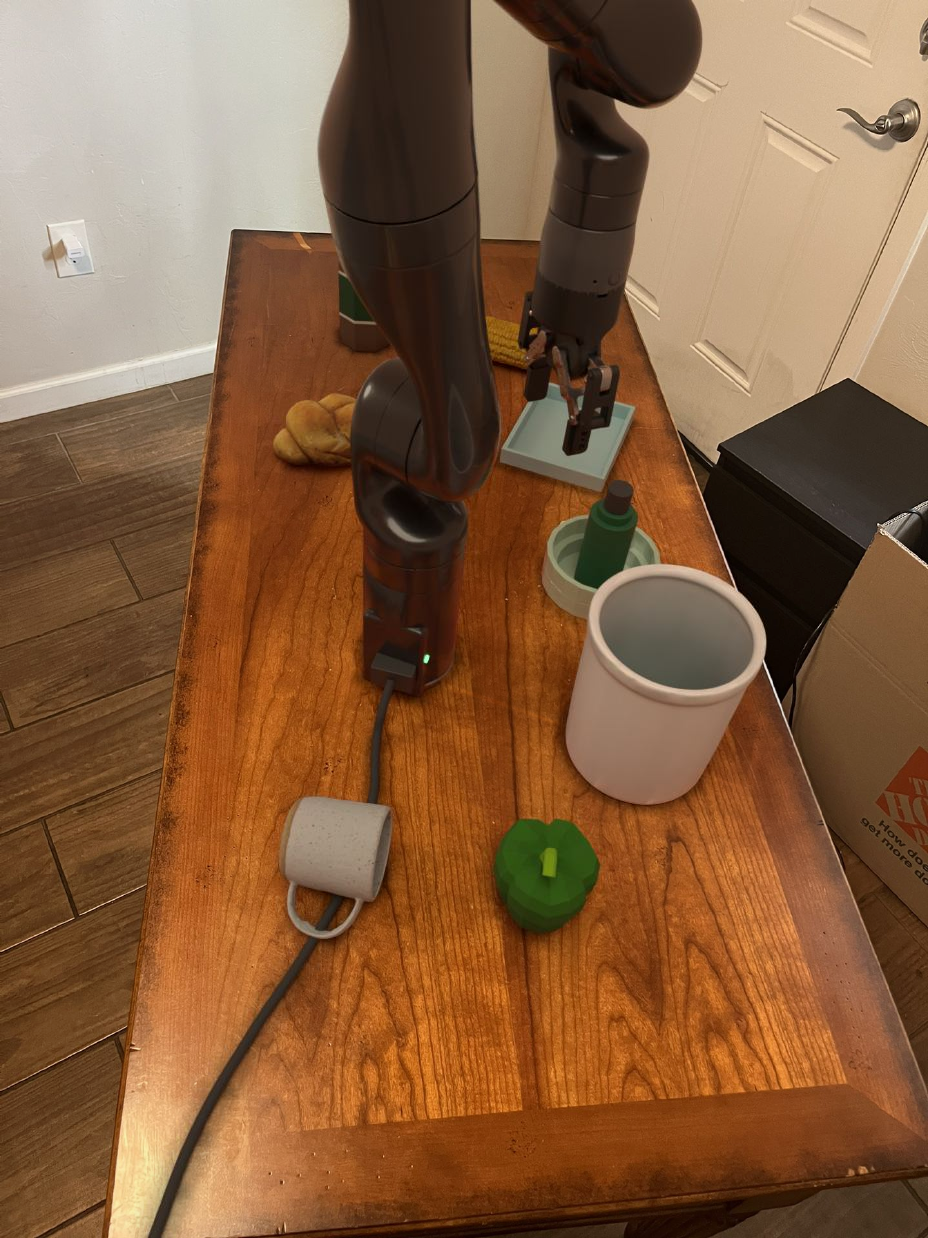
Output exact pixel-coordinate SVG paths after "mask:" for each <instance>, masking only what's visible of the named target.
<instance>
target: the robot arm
mask: <svg viewBox="0 0 928 1238" xmlns="http://www.w3.org/2000/svg"><path fill="white" fill-rule="evenodd" d="M347 2H348V27H347V28H348V29H347V39H346V44H345V48H344V51H343V54H342V57H341V61H340V63H339V65H338V68H337V70H336V73H335V76H334V79H333V82H332V84H331V87H330V90H329V93H328V95H327V98H326V102H325V105H324V108H323V111H322V115H321V118H320V123H319V129H318V134H317V144H316V151H317V153H316V155H317V166H318V175H319V180H320V187H321V190H322V193H323V199H324V204H325V209H326V215H327V218H328V224H329V227H330V233H331V234H330V235H331V238H332V241H333V244H334V249H335V252H336V256H337V258H338V262H339V261H340V264H341V266H342V268H343V270H344V272H345V274H346V276H347V278H348V280H349V281H350V283H351V285H352V287H353V289H354V290H355V292H356V294H357V295H358V297H359V299H360V300H361V302H362V303H363V305H364V307H365V308H366V310H367V311H368V313H369V314H370V316H371V317H372V319H373V320H374V322H375V323H376V324H377V326H378V327H379V329H380V330H381V332H382V333H383V334H384V336H385V337H386V339H387V340H388V341H389V343H390V346H391V347H392V349H393V350H394V352H395V353H396V355H397V356H394V357H391V358H388V359H386V360H384V361H382V362H381V363H380V364H378V365H377V366H376V367H375V368H374V369H373V370H372V371H371V372H370V373H369V375H367V377H366V379H365V380H364V382H363V383H362V385H361V388H360V390H359V392H358V395H357V397H356V398H355V399H356V402H355V405H354V409H353V414H352V420H351V428H350V454H351V464H350V465H351V466H350V467H351V477H352V479H351V480H352V489H353V490H352V491H353V504H354V510H355V514H356V516H357V519H358V521H359V523H360V525H361V526H362V646H361V647H362V648H361V657H362V679H364V680H366V681H369V682H370V684H371V685H375V686H378V687H383V691H382V694H381V698H380V700H379V705H378V708H377V711H376V716H375V718H374V719H375V720H374V724H373V729H372V736H371V745H370V765H369V766H370V767H369V769H370V770H369V790H368V796H367V802H366V803H370V804H378V797H379V789H380V762H381V761H380V759H381V758H380V757H381V753H380V752H381V743H382V735H383V728H384V724H385V721H386V715H387V712H388V708H389V704H390V701H391V699H392V695H393V692H394V691H397V692H401V693H404V694H407V695H409V696H412V697H415V698H420V697H422V694H423V693H424V691H425V690H428V689H431V688H433V687H435V686H437V685H439V684H440V683H442V681H443V679H444V678H445V677H446V676H447V675H448V674H449V673H450V671H451V670H452V668H453V665H454V663H455V657H456V639H457V630H458V621H459V612H460V603H461V594H462V587H463V586H462V585H463V578H464V577H463V576H464V569H465V568H464V567H465V561H466V560H465V559H466V551H467V550H466V549H467V542H468V535H469V525H470V523H469V522H470V519H469V512H468V511H469V510H468V508H467V505H466V503H465V501H466V500H468V499H470V498H471V497H473V496H474V495H475V494H477V493H478V492H479V491H480V490H481V489H482V487H483V486H484V485H485V483H486V482H487V480H488V479H489V477H490V475H491V474H492V471H493V468H494V466H495V464H496V460H497V457H498V452H499V448H500V443H501V442H500V441H501V433H502V414H501V405H500V398H499V393H498V391H499V390H498V387H497V386H498V385H497V379H496V374H495V370H494V364H493V360H492V358H491V352H490V346H489V340H488V333H487V325H486V316H487V315H486V306H485V296H484V295H485V293H484V280H483V267H482V266H483V264H482V222H481V220H482V213H481V195H480V194H481V193H480V174H479V159H478V157H479V156H478V148H477V137H476V126H475V125H476V124H475V107H474V106H475V105H474V76H473V75H474V72H473V70H474V69H473V32H472V31H473V29H472V28H473V27H472V0H347ZM492 2H494V3H495V4H496V5H497V6H498V7H499V8H500V9H501V10H502V11H504V12H505V14H507V15H508V16H509V17H510V18H511V19H512V20H514V21H515V22H516V23H517V24H519V25H520V26H521V27H522V28H523V29H524V30H525V31H527V32H528V33H529V34H530V35H531V36H532V37H534V38H535V39H536V40H538V41H539V42H541V43H542V44H544V45H546V46H547V47H546V48H547V49H546V55H547V58H546V59H547V73H548V83H549V92H550V103H551V111H552V113H551V114H552V125H553V134H554V140H555V161H554V167H553V174H552V179H551V187H550V194H549V200H548V205H547V206H548V207H547V211H546V215H545V218H544V222H543V226H542V229H541V233H540V242H539V248H538V254H537V261H536V268H535V275H534V282H533V289H532V290H529V291H526V292H525V295H524V301H523V307H522V313H521V319H520V329H519V335H518V346H519V348H520V349H525V351H526V353H525V362H526V365H527V366H528V369H527V370H526V376H525V384H524V389H523V398H524V399H525V400H526V401H527V403H528V402H532V401H538V400H543V399H544V398H546V396H547V392H548V386H549V383H550V381H551V379H550V378H551V375H552V374H551V373H552V370H554V372H555V374H556V376H557V378H558V379H557V380H558V385H559V387H560V394H561V397H562V398H564V399H566V401H567V407H568V414H569V420H568V421H567V426H566V431H565V436H564V441H563V446H562V450H563V452H564V453H565V455H566V456H572V455H577V454H581V453H584V452H586V450H587V448H588V443H589V439H590V435H591V430H594V429H599V428H606V427H609V426H610V423H611V418H612V413H613V407H614V402H615V401H616V397H617V392H618V386H619V382H620V376H621V371H620V367H619V365H618V364H611V365H608V364H606V363H605V362H604V361H603V359H602V341H603V339H604V337H605V336H606V335H607V334H608V333H609V332H610V331H611V330H612V329H613V328H614V327H615V326H616V325H617V322H618V319H619V316H620V312H621V309H622V308H621V307H622V303H623V298H624V294H625V289H626V286H627V281H628V277H629V276H628V275H629V272H630V266H631V262H632V259H633V253H634V248H635V244H636V243H635V242H636V232H637V231H636V230H637V221H638V217H639V216H638V215H639V211H640V207H641V202H642V197H643V194H644V189H645V184H646V181H647V175H648V171H649V165H650V156H651V155H650V153H651V152H650V148H649V145H648V143H647V141H646V139H645V138H644V137H643V136H642V135H641V134H640V133H639V132H638V131H637V130H636V129H635V128H633V126H631V124H629V123H628V122H627V121H626V120H625V119H624V118H623V117H622V115H621V114H620V113H619V111H618V110H617V106H616V101H618V102H620V103H622V104H625V105H628V106H631V107H633V108H636V109H642V110H652V109H658V108H661V107H663V106H666V105H668V104H670V103H671V102H673V101H674V100H675V99H677V98H678V97H679V96H681V95H682V94H683V92H684V91H685V90H686V89H687V87H688V86H689V84H690V83H691V81H692V80H693V78H694V76H695V74H696V72H697V70H698V67H699V64H700V61H701V57H702V51H703V39H704V38H703V27H702V22H701V18H700V15H699V11H698V9H697V7H696V4H695V3H694V1H693V0H492ZM615 100H616V101H615ZM532 328H536V329H538V330H537V334H531V335H529V334H530V330H531V329H532ZM580 380H583V384H584V386H579V387H573V386H572V384H571V382H575V381H580ZM579 396H584V397H583V403H582V409H581V410H579V407H578V397H579ZM599 408H601V410H600V413H599ZM344 897H345V896H340V895H337V894H334V893H333V896H332V897H331V899H330V901H329V903H328V905H327V907H326V908H325V910H324V912H323V913H322V915H321V917H320V919H319V921H317V924H316V925H315V926H314V927H315V930H318V931H324V930H327V928H328V926H329V925H330V923H331V921H332V919H333V917H334V916H335V914H336V913H337V910H338V908H339V907H340V905H341V903H342V901H343V900H344ZM319 941H320V939H319V938H314V937H311V936H309V937H308V938H307V940H306V941H305V943H304V945H303V946H302V948H301V949H300V951H299V953H298V954H297V956H296V958H295V959H294V960H293V962H292V964H291V966H290V967H289V968H288V970H287V971H286V973H284V976H283V977H282V978H281V980H280V981H279V983H278V984H277V985H276V986H275V989H274V990H273V992H272V993H271V995H269V997H268V999H267V1000H266V1002H265V1003H264V1004H263V1006H262V1007H261V1009H260V1010H259V1012H258V1014H257V1015H256V1017H255V1018H254V1019H253V1021H252V1023H251V1025H250V1026H249V1028H248V1029H247V1031H246V1033H245V1034H244V1036H243V1037H242V1038H241V1041H240V1042H239V1043H238V1045H237V1047H236V1048H235V1050H234V1052H233V1053H232V1055H231V1056H230V1058H229V1059H228V1061H227V1062H226V1064H225V1066H224V1068H223V1069H222V1071H221V1072H220V1074H219V1076H218V1077H217V1079H216V1081H215V1082H214V1084H213V1086H212V1087H211V1089H210V1091H209V1093H208V1094H207V1097H206V1098H205V1100H204V1101H203V1104H202V1105H201V1107H200V1109H199V1111H198V1113H197V1115H196V1116H195V1119H194V1121H193V1123H192V1125H191V1127H190V1129H189V1131H188V1133H187V1135H186V1138H185V1140H184V1142H183V1144H182V1146H181V1149H180V1151H179V1153H178V1156H177V1157H176V1161H175V1163H174V1166H173V1168H172V1170H171V1172H170V1176H169V1179H168V1181H167V1183H166V1186H165V1188H164V1192H163V1195H162V1198H161V1200H160V1204H159V1206H158V1208H157V1212H156V1214H155V1217H154V1218H153V1219H154V1220H153V1222H152V1225H151V1227H150V1230H149V1233H148V1235H147V1238H162V1236H163V1233H164V1230H165V1228H166V1225H167V1222H168V1220H169V1217H170V1215H171V1210H172V1209H173V1205H174V1202H175V1200H176V1197H177V1195H178V1191H179V1188H180V1185H181V1183H182V1180H183V1178H184V1175H185V1172H186V1170H187V1167H188V1164H189V1162H190V1160H191V1157H192V1155H193V1153H194V1150H195V1148H196V1145H197V1143H198V1141H199V1139H200V1136H201V1135H202V1133H203V1131H204V1128H205V1126H206V1124H207V1122H208V1120H209V1118H210V1116H211V1114H212V1112H213V1111H214V1109H215V1107H216V1105H217V1103H218V1101H219V1099H220V1097H221V1096H222V1094H223V1092H224V1090H225V1089H226V1088H227V1085H228V1084H229V1082H230V1080H231V1078H232V1077H233V1075H234V1074H235V1072H236V1070H237V1069H238V1067H239V1066H240V1064H241V1063H242V1061H243V1060H244V1057H245V1056H246V1054H247V1053H248V1051H249V1049H250V1048H251V1047H252V1045H253V1043H254V1041H255V1040H256V1038H257V1036H258V1035H259V1033H260V1032H261V1030H262V1029H263V1027H264V1026H265V1024H266V1023H267V1021H268V1019H269V1018H270V1016H271V1015H272V1013H273V1011H274V1010H276V1008H277V1006H278V1004H279V1003H280V1001H281V1000H282V999H283V997H284V995H285V994H286V993H287V992H288V990H289V988H290V987H291V985H292V984H293V982H294V981H295V979H296V978H297V976H298V975H299V974H300V972H301V970H302V969H303V968H304V965H305V964H306V963H307V961H308V959H309V957H311V954H312V953H313V951H314V949H315V948H316V946H317V944H318V942H319Z"/></svg>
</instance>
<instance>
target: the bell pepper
mask: <svg viewBox="0 0 928 1238" xmlns="http://www.w3.org/2000/svg"><path fill="white" fill-rule="evenodd" d="M600 869H601V863H600V861H599V858H598V856H597V855H596V852H595V851H594V848H593V847H592V845H591V843H590V841H589V840H588V838H587V837H586V836H585V835H584V834H583V833H582V831H581V830H580V829H579V828H578V827H577V825H576V824H575V823H574V822H572V821H569V820H564V819H560V818H555V819H554V820H553V821H551V822H550V823H549V824H547V823H545V822H544V821H542V820H540V819H538V818H520V819H518V820H515V822H514V823H513V824H512V825H511V827H510V828H508V830H507V831H506V833H505V834H504V835H503V837H501V839H500V840H499V845H498V847H497V851H496V853H495V857H494V861H493V868H492V871H493V876H494V881H495V885H496V887H497V892H498V894H499V896H500V897H499V898H500V899H501V902H502V904H503V905H505V906H506V907H507V909H508V914H509V916H510V918H511V919H512V920H513V921H514V922H515V923H516V924H517V925H518V926H519V928H521V929H524V930H525V931H529V932H532V933H535V934H538V935H540V934H542V935H543V934H547V933H555V932H556V931H559V930H560V929H561V928H562V927H564V926H565V925H566V924H567V923H569V921H570V920H572V919H573V918H574V917H576V916H577V915H578V914H579V913H580V912H582V911H583V909H584V907H585V905H586V903H587V900H588V899H587V897H588V895H590V894H591V893H592V892H593V891H594V888H595V887H596V884H597V882H598V878H599V875H600V874H599V873H600Z"/></svg>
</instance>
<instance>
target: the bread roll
mask: <svg viewBox="0 0 928 1238" xmlns="http://www.w3.org/2000/svg"><path fill="white" fill-rule="evenodd" d="M356 399H357V398H354V397H352V396H350V395H347V394H341V393H338V392H332V393H330V394H328V395H326V396H325V397H323V398H322V399H320V400H318V402H317V401H314V400H311V399H305V400H301V401H298V402H296V403H295V404H294V405H292V406H291V407H290V408H289V410H288V412H287V413H286V416H285V427H284V428H282V429H280V431H279V432H278V433H277V434H276V435H275V437H274V439H273V441H272V442H273V443H272V447H273V450H274V453H275V455H276V456H277V457H278V458H279V459H280V460H281V461H283V462H286V463H288V464H290V465H295V466H306V465H307V466H309V465H313V464H316V465H319V466H324V467H347V466H350V465H351V454H350V428H351V420H352V414H353V409H354V405H355V402H356Z"/></svg>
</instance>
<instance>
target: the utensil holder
mask: <svg viewBox="0 0 928 1238" xmlns="http://www.w3.org/2000/svg"><path fill="white" fill-rule="evenodd" d="M764 626H765V625H764V623H763V621H762V619H761V617H760V615H759V613H758V612H757V610H756V609H755V608H754V605H752V603H751V602H750V601H749V599H748V598H747V597H746V596H744V595H743V594H742V593H741V592H740V591H739V590H737V589H736V588H735V587H734V586H732V585H731V584H729V583H728V582H726V581H724V580H723V579H721V578H719V577H717V576H715V575H713V574H711V573H708V572H706V571H703V570H700V569H697V568H693V567H689V566H685V565H677V564H667V563H661V564H653V565H643V566H638V567H633V568H630V569H627V570H624V571H622V572H620V573H617V574H616V575H614V576H612V577H611V578H609V579H608V580H607V581H606V582H604V583H603V584H602V585H601V586H600V587H599V589H598V590H597V591H596V593H595V594H594V596H593V598H592V601H591V604H590V607H589V611H588V617H587V620H586V634H585V639H584V643H583V647H582V650H581V655H580V659H579V664H578V668H577V671H576V676H575V680H574V684H573V688H572V694H571V699H570V703H569V708H568V713H567V719H566V726H565V745H566V748H567V752H568V755H569V757H570V760H571V762H572V764H573V766H574V767H575V769H576V770H577V772H579V774H580V775H581V776H582V778H584V779H585V781H587V783H589V784H590V785H591V786H592V787H594V788H595V789H597V790H598V791H599V792H601V793H602V794H605V795H606V796H608V797H611V798H613V799H615V800H617V801H621V802H625V803H628V804H629V803H630V804H634V805H641V806H643V805H645V806H648V805H649V806H650V805H659V804H665V803H668V802H672V801H674V800H676V799H679V798H680V797H682V796H684V795H685V794H687V793H688V792H689V791H690V790H691V789H692V788H694V786H695V785H697V783H698V781H699V780H700V778H701V777H702V775H703V774H704V772H705V770H706V768H707V766H708V765H709V763H710V762H711V760H712V758H713V756H714V754H715V752H716V750H717V749H718V746H719V744H720V743H721V741H722V739H723V736H724V734H725V732H726V730H727V728H728V726H729V724H730V722H731V721H732V718H733V716H734V714H735V712H736V710H737V708H738V707H739V705H740V703H741V700H742V699H743V697H744V694H745V693H746V690H747V688H748V687H749V685H750V684H751V683H752V682H753V681H754V680H755V678H756V677H757V675H758V673H759V672H760V670H761V668H762V665H763V663H764V659H765V656H766V651H767V634H766V630H765V627H764Z"/></svg>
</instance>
